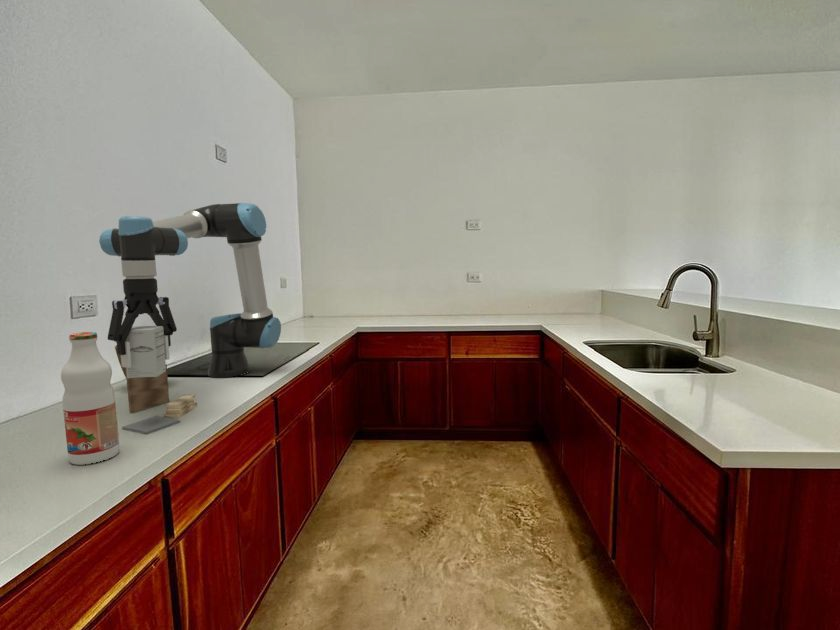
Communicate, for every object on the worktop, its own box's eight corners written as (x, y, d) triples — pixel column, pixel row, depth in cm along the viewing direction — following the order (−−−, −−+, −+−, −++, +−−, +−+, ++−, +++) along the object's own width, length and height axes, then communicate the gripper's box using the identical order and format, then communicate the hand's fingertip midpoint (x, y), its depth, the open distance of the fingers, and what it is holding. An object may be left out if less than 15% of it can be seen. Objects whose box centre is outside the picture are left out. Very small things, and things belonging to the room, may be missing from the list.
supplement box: (125, 379, 116) (121, 329, 115) (137, 372, 124) (133, 325, 122) (157, 377, 118) (153, 328, 116) (167, 370, 125) (164, 324, 124)
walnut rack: (167, 401, 144) (164, 363, 143) (169, 401, 144) (166, 364, 142) (129, 412, 133) (126, 372, 132) (131, 413, 133) (128, 372, 131)
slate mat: (156, 417, 129) (156, 415, 129) (180, 422, 125) (180, 420, 125) (122, 428, 120) (122, 426, 120) (146, 434, 116) (146, 432, 116)
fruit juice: (125, 455, 103) (115, 332, 100) (74, 470, 96) (61, 338, 93) (112, 445, 109) (102, 328, 106) (63, 457, 102) (50, 334, 99)
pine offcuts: (183, 407, 139) (183, 394, 138) (198, 407, 139) (197, 394, 138) (163, 419, 128) (162, 406, 128) (179, 419, 128) (178, 405, 128)
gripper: (169, 276, 130) (175, 354, 132) (84, 279, 109) (92, 370, 112) (188, 276, 127) (193, 356, 129) (103, 279, 106) (111, 373, 109)
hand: (146, 362), depth 120 cm, fingers closed on supplement box, 10 cm apart
